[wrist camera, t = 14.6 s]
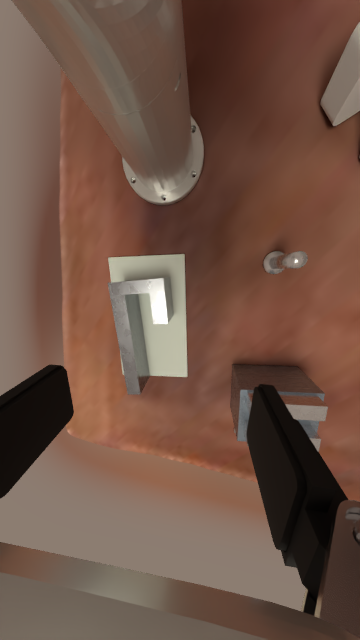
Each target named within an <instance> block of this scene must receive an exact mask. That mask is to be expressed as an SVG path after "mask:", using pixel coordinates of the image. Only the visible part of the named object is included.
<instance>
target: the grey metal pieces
mask: <svg viewBox="0 0 360 640" xmlns="http://www.w3.org/2000/svg"><path fill="white" fill-rule="evenodd" d="M307 259H308V258H307V255H306V253H305V252H302V251H298V252H293V253H289V254H284V253H282V252H280V251H274V252H271V253H269V254H268V255H267V256H266V257H265V258H264V260H263V268H264V270H265V271H266V272H267V273H270V274H277V273H280V272H281V271H283V270H284V269H288V268H301V267H303V266H304V265H305V264H306V262H307ZM259 384H267V385H273V386H274V387H275V388H276V390H277V392H278V393H279V395H280V397H281V398H282V400H283V402H284V403H285V405H286V407H287V408H288V410H289V412H290V413H291V415H292V417H293V418H294V419H296V420H298V421H299V423H300V424H301V425H302V427H303V428H304V430H305V432H306V433H307V435H308V436H309V438H310V440H311V441H312V443H313V444H314V446H315V448H316V449H317V451H319V447H320V442H321V438H320V437H319V435H318V434H317V430H318V425H319V421H325V418H326V414H327V409H328V406H327V405H326V404H325V403H324V402H323V400H324V395H325V393H324V392H323V391H322V390H321V389H320V388H319V387H318V386H317V385H316V384H315V383H314V382H313V381H312V380H311V379H310V378H309V377H308V376H307V375H306V374H305V373H304V372H303V371H302V370H301V369H300V368H299V367H298V366H271V365H238V364H232V384H231V405H230V407H231V412H232V417H233V422H234V433H236V436H237V441H246V442H247V436H246V433H247V426H248V420H249V415H250V409H251V403H252V397H253V391H254V388H255V387H258V385H259ZM247 446H248V442H247Z"/></svg>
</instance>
